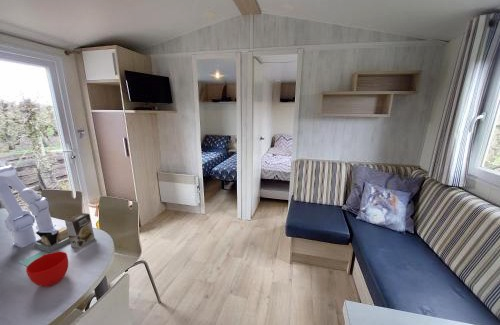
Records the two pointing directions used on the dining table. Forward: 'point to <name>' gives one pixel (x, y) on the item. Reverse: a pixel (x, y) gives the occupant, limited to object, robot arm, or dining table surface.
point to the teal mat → (32, 258)
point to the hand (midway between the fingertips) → (50, 242)
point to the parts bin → (52, 248)
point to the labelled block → (47, 241)
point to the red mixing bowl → (48, 269)
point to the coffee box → (79, 230)
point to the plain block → (62, 234)
